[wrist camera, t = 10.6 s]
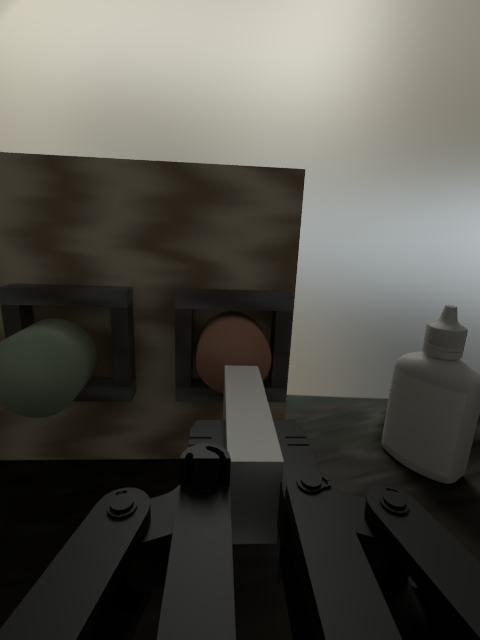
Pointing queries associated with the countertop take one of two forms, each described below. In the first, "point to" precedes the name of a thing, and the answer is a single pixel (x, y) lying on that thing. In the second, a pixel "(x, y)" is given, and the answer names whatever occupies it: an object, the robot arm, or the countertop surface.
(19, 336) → the sage button
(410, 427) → the eye dropper bottle
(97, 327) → the button panel
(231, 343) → the terracotta button
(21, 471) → the countertop surface
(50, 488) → the countertop surface
